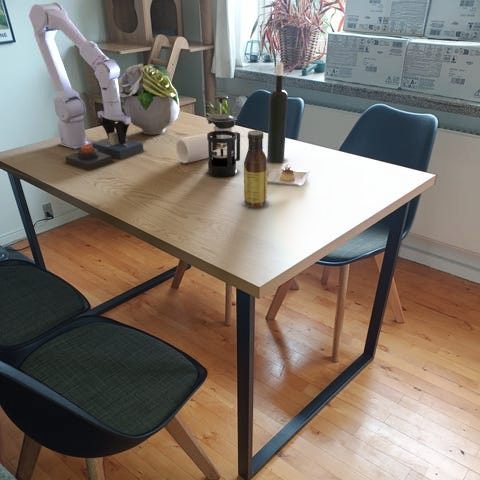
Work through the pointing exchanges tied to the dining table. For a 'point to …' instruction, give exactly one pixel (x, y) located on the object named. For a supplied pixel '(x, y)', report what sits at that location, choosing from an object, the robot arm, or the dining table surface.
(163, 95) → the flower arrangement
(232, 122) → the french press
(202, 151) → the mug
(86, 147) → the button
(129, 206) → the dining table surface
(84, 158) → the button base
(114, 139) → the grey rectangular block
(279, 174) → the dessert
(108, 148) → the dial panel
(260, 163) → the sauce bottle
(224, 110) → the house plant
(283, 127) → the wine bottle
